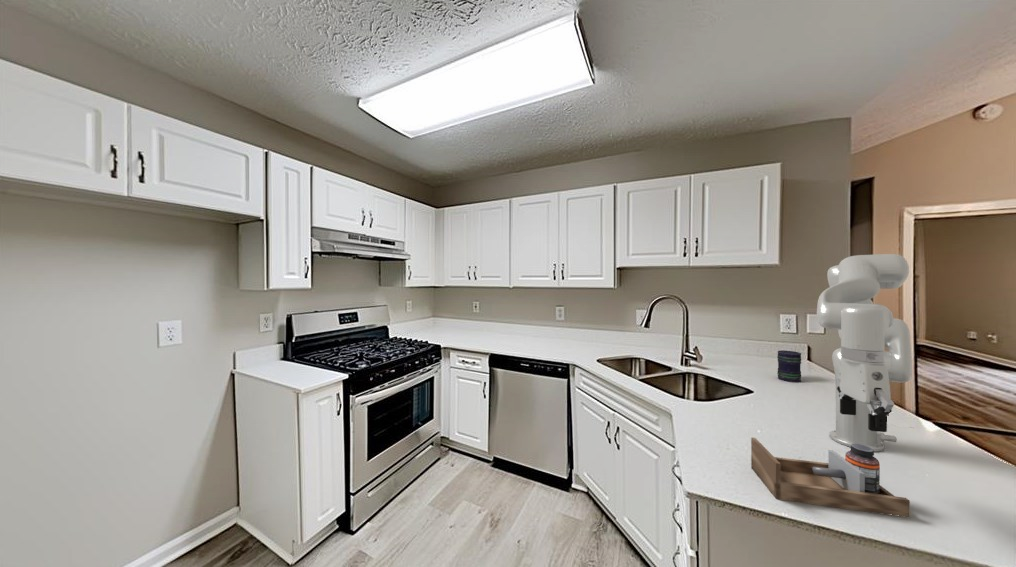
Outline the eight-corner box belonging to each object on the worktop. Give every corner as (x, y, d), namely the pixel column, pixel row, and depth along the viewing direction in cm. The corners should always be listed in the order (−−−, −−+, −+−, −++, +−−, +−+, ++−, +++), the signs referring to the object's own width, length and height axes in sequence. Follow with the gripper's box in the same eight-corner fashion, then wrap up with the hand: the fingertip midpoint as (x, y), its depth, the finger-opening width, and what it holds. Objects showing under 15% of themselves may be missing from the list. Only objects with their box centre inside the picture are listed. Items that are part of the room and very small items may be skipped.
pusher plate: (832, 475, 90) (832, 450, 90) (864, 502, 79) (864, 473, 79) (802, 472, 92) (802, 447, 92) (828, 497, 81) (828, 469, 81)
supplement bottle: (843, 481, 88) (843, 438, 88) (876, 490, 84) (876, 446, 84) (847, 492, 83) (847, 447, 83) (882, 502, 80) (882, 455, 80)
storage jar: (799, 383, 172) (799, 355, 171) (775, 379, 179) (775, 352, 179) (803, 380, 178) (803, 352, 178) (779, 376, 185) (779, 349, 185)
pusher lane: (862, 481, 89) (862, 448, 89) (909, 517, 76) (909, 478, 76) (751, 468, 96) (751, 437, 96) (775, 498, 83) (775, 463, 83)
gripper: (912, 365, 74) (911, 440, 74) (855, 348, 91) (854, 410, 91) (870, 363, 76) (870, 436, 76) (821, 347, 93) (821, 407, 93)
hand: (861, 422), depth 84 cm, fingers open, 9 cm apart
